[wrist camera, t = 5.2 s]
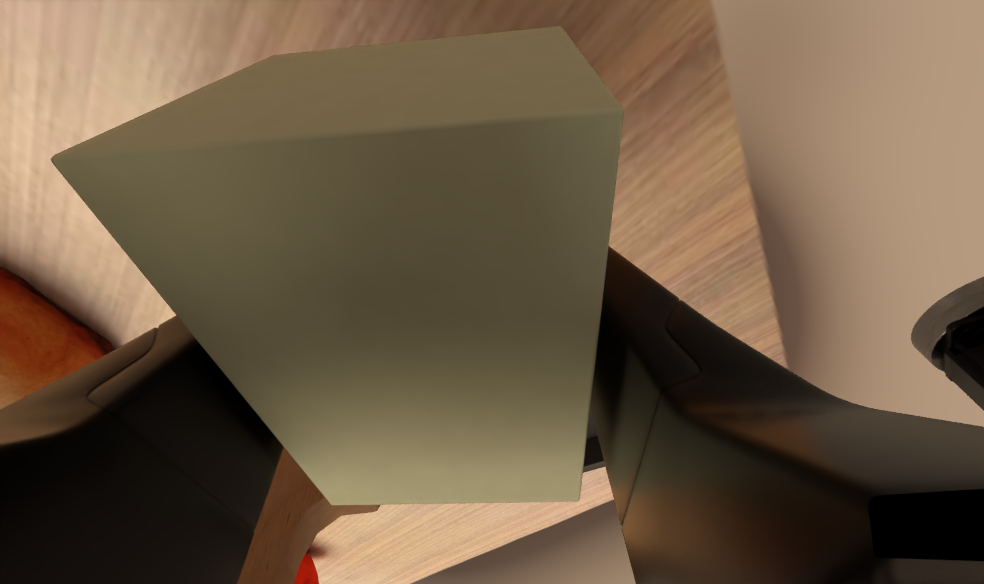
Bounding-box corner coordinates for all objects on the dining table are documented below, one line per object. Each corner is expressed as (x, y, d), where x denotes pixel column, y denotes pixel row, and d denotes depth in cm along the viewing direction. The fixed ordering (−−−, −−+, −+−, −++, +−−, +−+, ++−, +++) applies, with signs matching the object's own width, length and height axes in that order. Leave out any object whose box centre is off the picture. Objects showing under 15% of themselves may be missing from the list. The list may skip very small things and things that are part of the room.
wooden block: (389, 429, 32) (301, 793, 18) (391, 457, 35) (317, 789, 21) (272, 419, 31) (90, 786, 18) (284, 449, 34) (136, 783, 20)
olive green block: (271, 55, 8) (43, 158, 4) (562, 25, 7) (626, 106, 3) (382, 341, 13) (331, 506, 9) (556, 333, 12) (580, 502, 9)
